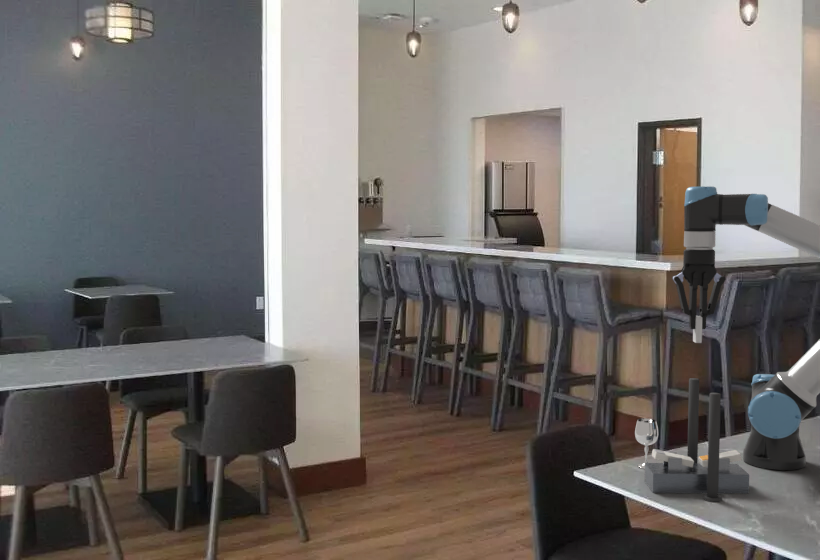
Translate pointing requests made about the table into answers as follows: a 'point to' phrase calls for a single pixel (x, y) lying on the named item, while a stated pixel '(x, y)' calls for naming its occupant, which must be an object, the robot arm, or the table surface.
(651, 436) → the wineglass
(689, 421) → the post far
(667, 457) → the paddle
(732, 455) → the paddle
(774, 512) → the table surface
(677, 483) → the panel
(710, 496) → the post near
